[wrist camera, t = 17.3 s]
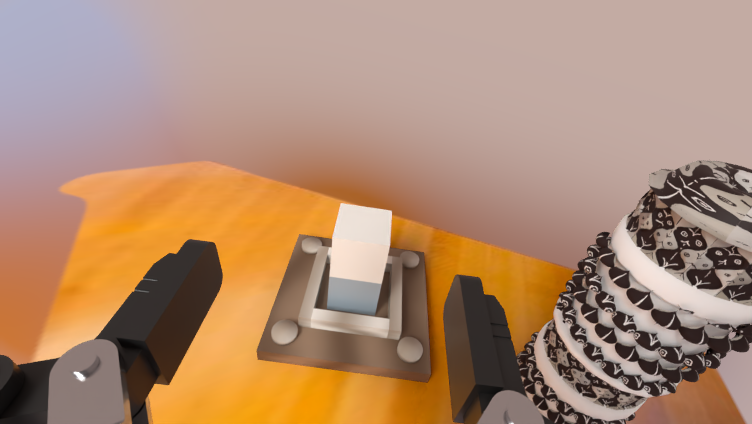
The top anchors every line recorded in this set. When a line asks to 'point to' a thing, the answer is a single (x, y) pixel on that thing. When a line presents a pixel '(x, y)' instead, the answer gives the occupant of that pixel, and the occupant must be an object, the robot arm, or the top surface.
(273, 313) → the socket plate
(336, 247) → the post
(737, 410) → the top surface
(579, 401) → the decorative candle
